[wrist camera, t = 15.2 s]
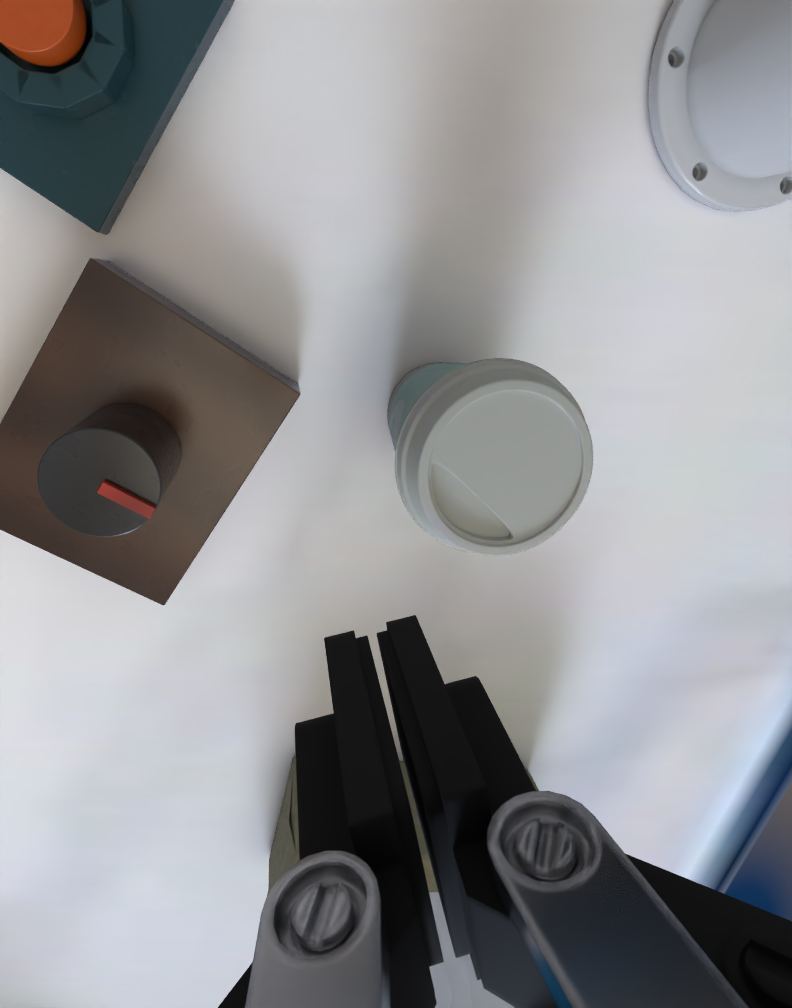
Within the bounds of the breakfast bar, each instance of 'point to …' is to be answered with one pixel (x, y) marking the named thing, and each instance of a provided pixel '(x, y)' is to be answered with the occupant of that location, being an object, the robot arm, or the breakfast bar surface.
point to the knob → (109, 470)
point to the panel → (158, 386)
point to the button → (43, 30)
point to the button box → (102, 102)
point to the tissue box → (454, 979)
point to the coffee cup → (489, 453)
